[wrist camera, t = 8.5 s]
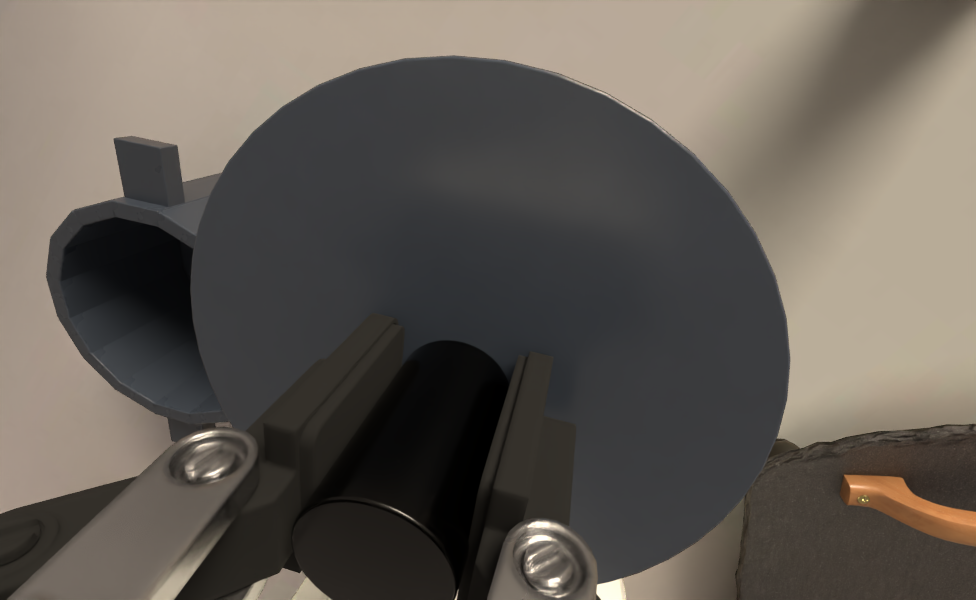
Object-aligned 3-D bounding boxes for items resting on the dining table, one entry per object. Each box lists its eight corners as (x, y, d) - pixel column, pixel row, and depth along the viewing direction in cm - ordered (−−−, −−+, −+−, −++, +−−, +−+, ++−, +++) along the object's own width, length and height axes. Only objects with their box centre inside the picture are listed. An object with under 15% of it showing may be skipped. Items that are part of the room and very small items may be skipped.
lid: (242, 484, 16) (76, 669, 11) (191, 7, 10) (-236, -69, 5) (658, 611, 14) (691, 901, 9) (906, 128, 8) (1407, 203, 3)
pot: (193, 356, 37) (89, 427, 29) (156, 108, 29) (-1, 119, 21) (345, 396, 35) (275, 483, 28) (350, 147, 27) (254, 172, 20)
